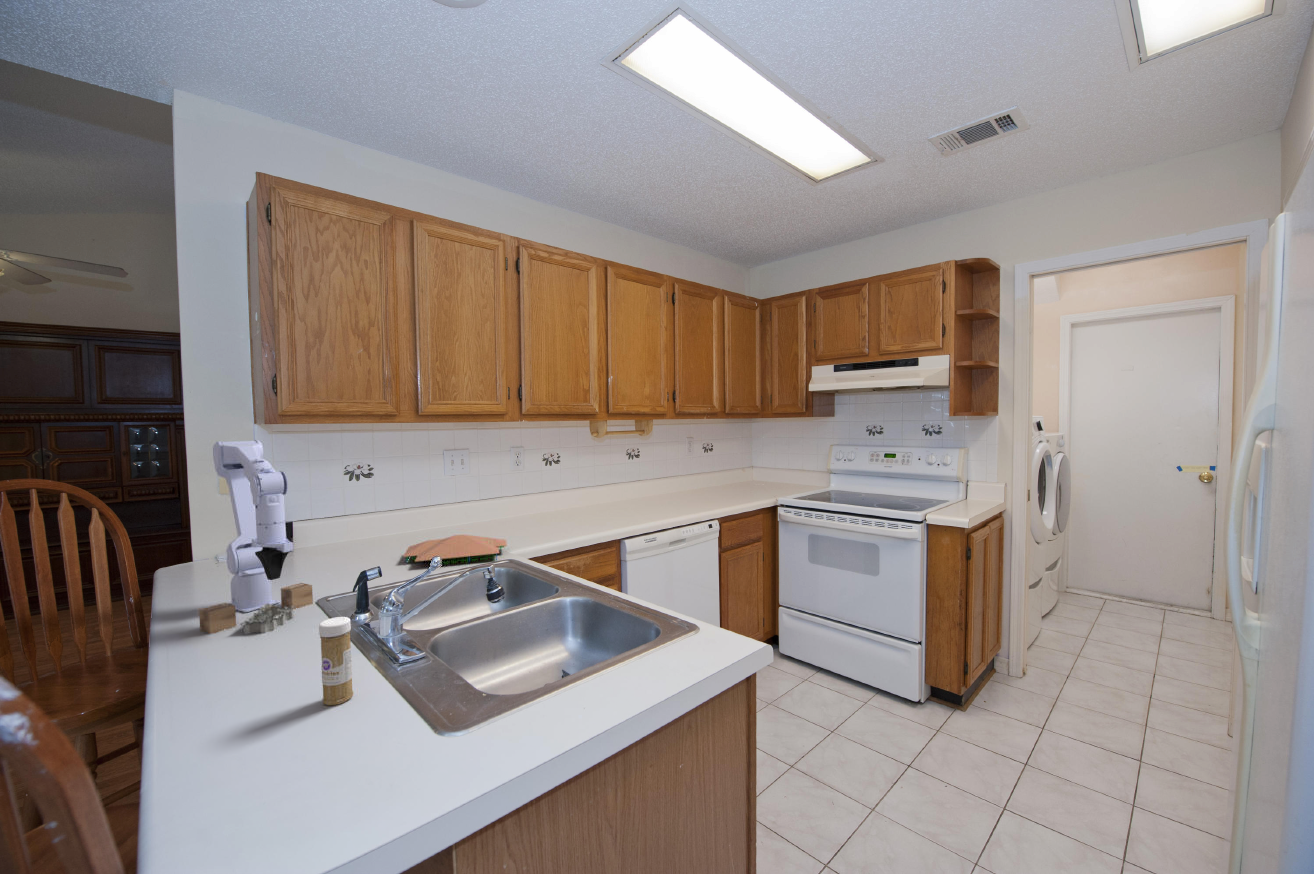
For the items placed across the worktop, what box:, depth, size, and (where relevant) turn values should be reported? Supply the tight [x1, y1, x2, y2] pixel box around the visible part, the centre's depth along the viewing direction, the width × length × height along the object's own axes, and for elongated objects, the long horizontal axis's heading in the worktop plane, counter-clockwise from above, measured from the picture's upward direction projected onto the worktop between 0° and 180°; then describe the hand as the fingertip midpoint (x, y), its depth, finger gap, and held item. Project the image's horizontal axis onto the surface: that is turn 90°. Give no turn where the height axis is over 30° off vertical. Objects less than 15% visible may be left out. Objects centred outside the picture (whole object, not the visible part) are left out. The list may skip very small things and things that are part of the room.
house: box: [402, 534, 508, 565], centre depth 184 cm, size 23×33×8 cm
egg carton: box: [239, 603, 296, 635], centre depth 126 cm, size 11×8×4 cm
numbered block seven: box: [198, 602, 237, 635], centre depth 125 cm, size 5×5×5 cm
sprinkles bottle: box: [318, 616, 354, 706], centre depth 90 cm, size 5×5×14 cm
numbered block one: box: [280, 582, 314, 610], centre depth 139 cm, size 5×5×5 cm
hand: (273, 578), depth 129 cm, fingers closed
